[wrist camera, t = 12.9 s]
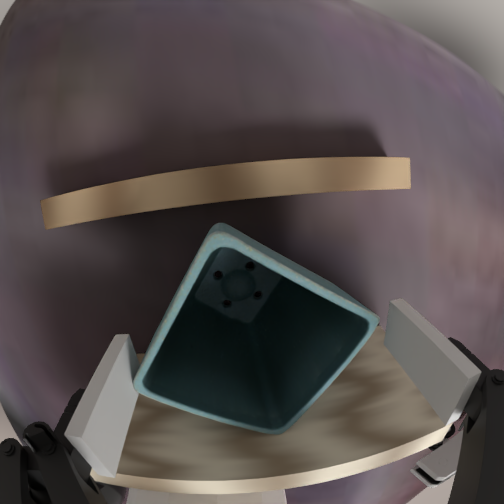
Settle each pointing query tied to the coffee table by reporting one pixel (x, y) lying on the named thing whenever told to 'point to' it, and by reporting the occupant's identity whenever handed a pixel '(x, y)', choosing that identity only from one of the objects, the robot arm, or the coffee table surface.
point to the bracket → (440, 460)
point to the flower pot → (251, 337)
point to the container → (205, 497)
